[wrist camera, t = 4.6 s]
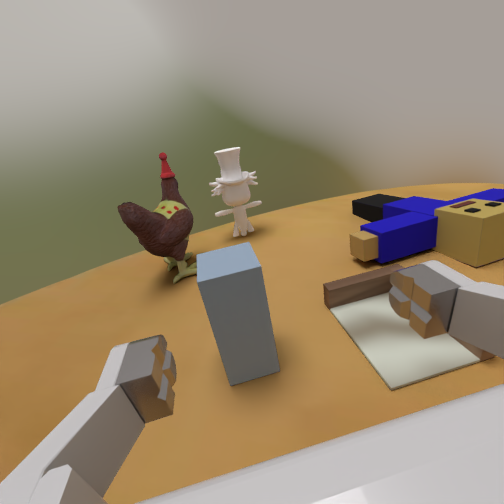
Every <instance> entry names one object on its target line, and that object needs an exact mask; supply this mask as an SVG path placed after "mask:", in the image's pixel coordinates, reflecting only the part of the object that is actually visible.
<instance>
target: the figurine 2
mask: <svg viewBox="0 0 504 504" xmlns="http://www.w3.org/2000/svg"><path fill="white" fill-rule="evenodd" d="M239 152H240V147H237V148H230V149H224V150H220V151H216V152H214V154H215V156H216V157H217V159H218V161H219V162H218V163H219V165H220V167H221V175H222V178H216V181H217V182H214V183H209V185H210V186H217V187H216V188H215V189H214V190H211V191H212V192H214V193H213V194H212V196H215V195H216V194H217V193H218V194H217V195H220V194H221V192H222V199H223V201H224V202H225V204H227V205H229V206H235V207H234V208H233V209H228V210H223V211H220V212H217V213H215V216H217V217H218V216H223V215H227V214H229V213H232V212H233V214H234V218H235V225H234V232H233V237H236V236H239V229H240V230H241V235H242V236H246V235H247V232H246V230H247V229H248V232H252V231H254V228H253V227H252V225H251V223H250V222H249V220H248V219H247V215H246V208H250V207H254V206H257V205H260V204H261V203H262V202H261V201H254V202H251V203H249V204H246V205H242V204H243V203H246V202H247V201H248V200H249V199H250V191H249V188H248V184H249V185H250V184H253V185H257V184H258V183H256V182H254V181H252V180H251V179H256V178H257V177H253V175H254V174H255V172H256V171H254V172H252V173H249V172H247V171H245V172H241V168H240V165H239ZM218 182H219V183H218ZM238 227H239V229H238Z"/></svg>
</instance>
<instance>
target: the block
mask: <svg viewBox="0 0 504 504" xmlns="http://www.w3.org/2000/svg"><path fill="white" fill-rule="evenodd" d="M197 284H198V287H199V290H200V293H201V296H202V299H203V302H204V305H205V308H206V312H207V315H208V318H209V321H210V324H211V327H212V330H213V333H214V337H215V340H216V343H217V346H218V349H219V352H220V355H221V358H222V362H223V365H224V368H225V371H226V374H227V377H228V380H229V383H230V386H233V385H236V384H239V383H243V382H246V381H249V380H253V379H256V378H259V377H263V376H266V375H269V374H272V373H276V372H279V371H280V367H279V362H278V356H277V351H276V345H275V340H274V334H273V329H272V323H271V318H270V312H269V307H268V302H267V296H266V291H265V285H264V280H263V274H262V269H261V265H260V263H259V261H258V259H257V257H256V255H255V253H254V251H253V249H252V247H251V245H250V243H249V242H246V243H242V244H238V245H234V246H230V247H226V248H222V249H218V250H214V251H210V252H205V253H201V254H197Z"/></svg>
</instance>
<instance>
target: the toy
mask: <svg viewBox="0 0 504 504" xmlns="http://www.w3.org/2000/svg"><path fill="white" fill-rule="evenodd" d="M352 208H353V214H354V215H356V216H359V217H361V218H363V219H366V220H369V221H372V223H368V224H365V225H361V226H360V228H361V231H360V232H356V233H352V234H350V250H351V255H353V256H355V257H357V258H358V259H360V260H362V261H364V262H365V261H368V260H372V259H374V260H376V261H378V262H380V263H381V264H382V263H385V262H388V261H392V260H395V259H398V258H401V257H405V256H408V255H411V254H414V253H418V252H421V251H424V250H427V249H431V248H432V249H433V250H435V251H437V252H439V253H442V254H444V255H446V256H448V257H450V258H453V259H455V260H457V261H460V262H463V263H466V264H468V265H471V266H474V267H479V266H482V265H485V264H488V263H491V262H494V261H497V260H500V259H503V258H504V189H494V188H493V189H489V190H486V191H482V192H479V193H475V194H471V195H468V196H464V197H461V198H457V199H453V200H450V201H442V200H436V199H429V198H422V197H416V196H413V197H409V198H401V197H395V196H389V195H383V194H376V195H372V196H368V197H365V198H361V199H357V200H353V201H352Z"/></svg>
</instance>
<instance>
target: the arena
mask: <svg viewBox="0 0 504 504" xmlns="http://www.w3.org/2000/svg"><path fill="white" fill-rule="evenodd" d="M400 269H404V268H403V267H402V266H400V265H399V264H395V265H392V266H388V267H384V268H381V269H377V270H373V271H369V272H366V273H362V274H358V275H355V276H351V277H347V278H344V279H340V280H336V281H332V282H329V283H325V284H323V286H324V302H325V305H326V306H327V307H328V309H329V310H330V311H331V313H332V314H333V315H334V316H335V318H336V319H337V320H338V322H339V323H340V324H341V326H342V327H343V328H344V330H345V331H346V332H347V333H348V335H349V336H350V337H351V339H352V340H353V341H354V343H355V344H356V345H357V347H358V348H359V349H360V351H361V352H362V353H363V354H364V356H365V357H366V358H367V360H368V361H369V362H370V364H371V365H372V366H373V368H374V369H375V370H376V371H377V373H378V374H379V375H380V377H381V378H382V379H383V381H384V382H385V383H386V385H387V386H388V387H389V389H390V390H394V389H398V388H401V387H404V386H407V385H410V384H413V383H416V382H419V381H422V380H425V379H428V378H431V377H434V376H438V375H441V374H444V373H447V372H450V371H453V370H456V369H459V368H462V367H465V366H468V365H471V364H474V363H477V362H481V361H484V360H487V359H490V358H493V357H494V356H495V355H494V354H492V353H489V352H487V351H485V350H483V349H480V348H478V347H476V346H474V345H471V344H469V343H467V342H465V341H462V340H460V339H458V338H456V337H453V336H451V335H449V334H448V333H445V334H442V335H438V336H434V337H430V338H427V339H423V338H422V337H421V336H420V335H419V334H418V333H417V332H416V331H414V330H413V329H412V328H411V327H410V326H409V320H407V319H404V318H402V317H399V316H398V315H397V314H396V313H395V312H394V310H393V309H392V307H391V305H390V302H389V291H390V290H391V288H392V287H393V285H392V284H391V283H390V275H391V273H392V272H393V271H397V270H400Z"/></svg>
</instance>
